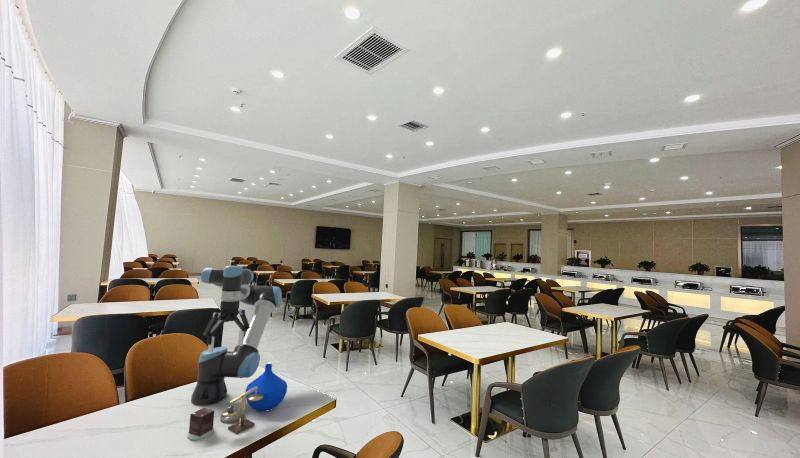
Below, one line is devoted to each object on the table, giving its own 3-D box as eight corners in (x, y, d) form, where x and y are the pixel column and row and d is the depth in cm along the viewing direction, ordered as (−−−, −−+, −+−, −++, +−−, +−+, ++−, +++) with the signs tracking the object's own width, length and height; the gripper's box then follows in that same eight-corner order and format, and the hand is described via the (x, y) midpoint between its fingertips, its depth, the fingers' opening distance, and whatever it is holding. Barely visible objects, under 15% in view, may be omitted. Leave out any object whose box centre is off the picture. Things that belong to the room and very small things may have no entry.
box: (213, 429, 128) (215, 410, 129) (199, 437, 123) (201, 417, 123) (202, 425, 130) (204, 407, 131) (188, 433, 125) (190, 413, 125)
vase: (234, 410, 146) (238, 367, 147) (264, 395, 163) (267, 356, 164) (266, 419, 139) (270, 374, 141) (294, 402, 156) (297, 362, 158)
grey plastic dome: (216, 419, 138) (216, 416, 138) (236, 410, 146) (236, 408, 146) (227, 425, 133) (228, 423, 133) (248, 417, 141) (248, 414, 141)
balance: (216, 434, 127) (220, 395, 128) (255, 417, 141) (258, 382, 142) (225, 439, 124) (228, 400, 125) (264, 421, 138) (266, 386, 139)
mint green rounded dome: (182, 435, 125) (182, 432, 125) (206, 425, 133) (206, 422, 133) (194, 443, 120) (194, 440, 120) (218, 432, 128) (218, 430, 128)
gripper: (206, 304, 132) (201, 357, 131) (260, 298, 153) (256, 344, 152) (196, 301, 136) (191, 353, 135) (250, 296, 157) (246, 341, 156)
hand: (226, 348), depth 143 cm, fingers open, 13 cm apart
